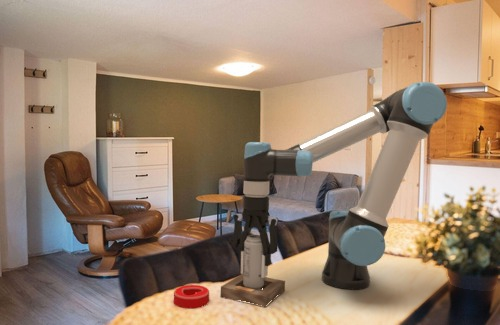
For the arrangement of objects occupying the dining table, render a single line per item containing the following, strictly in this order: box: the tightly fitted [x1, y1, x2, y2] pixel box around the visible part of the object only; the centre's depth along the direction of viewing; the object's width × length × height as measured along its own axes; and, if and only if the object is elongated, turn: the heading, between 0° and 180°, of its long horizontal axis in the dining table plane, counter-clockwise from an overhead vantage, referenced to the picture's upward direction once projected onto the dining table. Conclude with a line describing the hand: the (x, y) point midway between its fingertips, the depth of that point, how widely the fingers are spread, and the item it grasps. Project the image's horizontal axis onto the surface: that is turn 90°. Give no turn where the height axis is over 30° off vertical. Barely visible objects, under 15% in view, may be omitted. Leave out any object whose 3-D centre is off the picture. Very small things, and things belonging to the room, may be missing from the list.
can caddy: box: [220, 273, 286, 307], centre depth 111 cm, size 14×14×3 cm
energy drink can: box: [243, 234, 264, 291], centre depth 111 cm, size 6×6×15 cm
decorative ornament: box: [173, 284, 210, 310], centre depth 105 cm, size 10×10×3 cm
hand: (254, 274), depth 111 cm, fingers closed on energy drink can, 6 cm apart
